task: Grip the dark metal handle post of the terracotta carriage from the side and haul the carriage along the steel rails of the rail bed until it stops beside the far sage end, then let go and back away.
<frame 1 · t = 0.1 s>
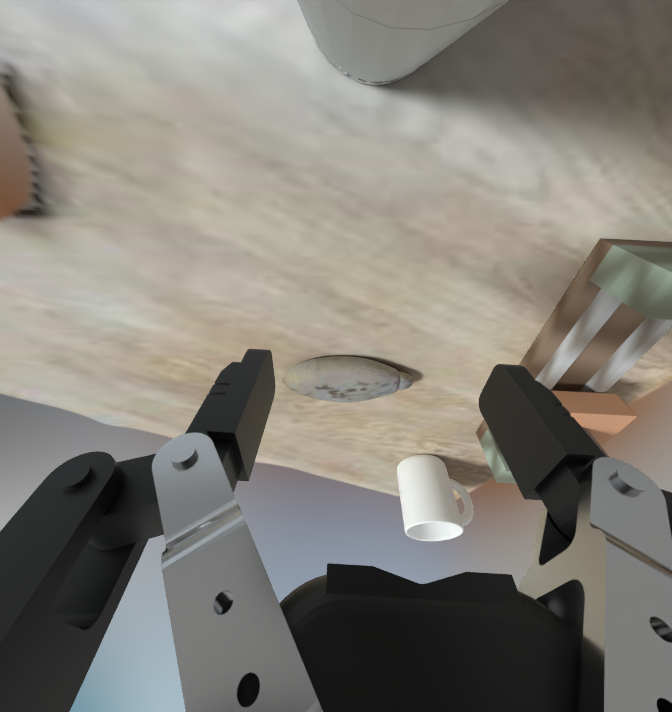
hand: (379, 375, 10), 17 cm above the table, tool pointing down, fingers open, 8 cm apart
decorative stone: (347, 369, 34), on the table
mug: (429, 465, 49), on the table
carriage: (594, 471, 28), point 10 cm above the table, slide at 0.0 cm
rail bed: (563, 365, 32), on the table
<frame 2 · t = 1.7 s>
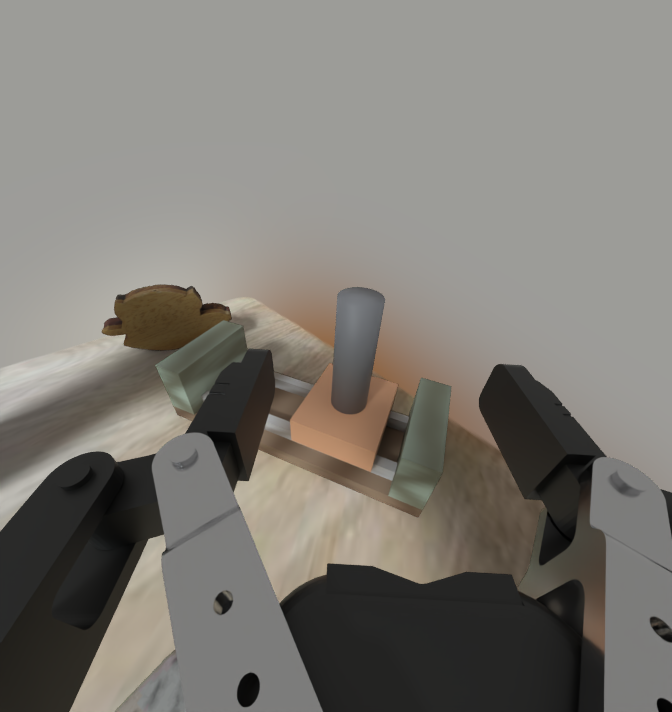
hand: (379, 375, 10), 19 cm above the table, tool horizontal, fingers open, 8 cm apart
carriage: (352, 369, 25), point 10 cm above the table, slide at 0.0 cm
wooden carving: (180, 345, 43), on the table
rail bed: (304, 423, 32), on the table
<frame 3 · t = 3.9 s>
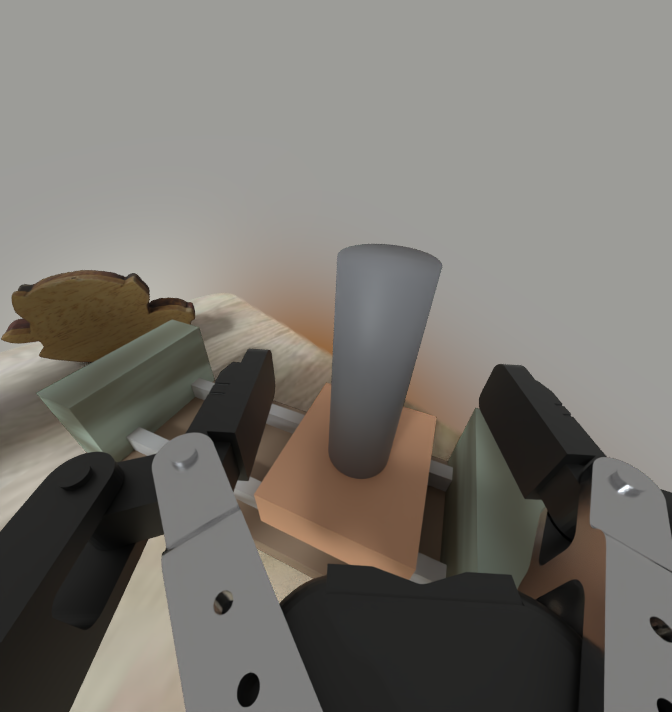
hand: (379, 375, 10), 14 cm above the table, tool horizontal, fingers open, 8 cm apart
carriage: (366, 402, 14), point 10 cm above the table, slide at 0.0 cm
wooden carving: (127, 355, 32), on the table
rail bed: (288, 475, 21), on the table
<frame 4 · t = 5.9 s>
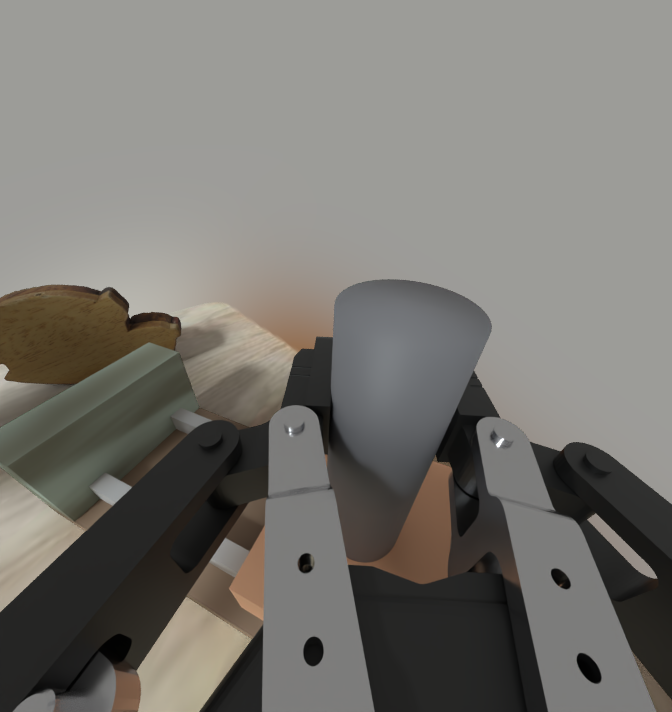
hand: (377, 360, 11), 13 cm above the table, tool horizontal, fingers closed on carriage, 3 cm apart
carriage: (372, 472, 11), point 10 cm above the table, slide at 0.0 cm, touching gripper
wooden carving: (107, 375, 29), on the table
rail bed: (279, 527, 18), on the table
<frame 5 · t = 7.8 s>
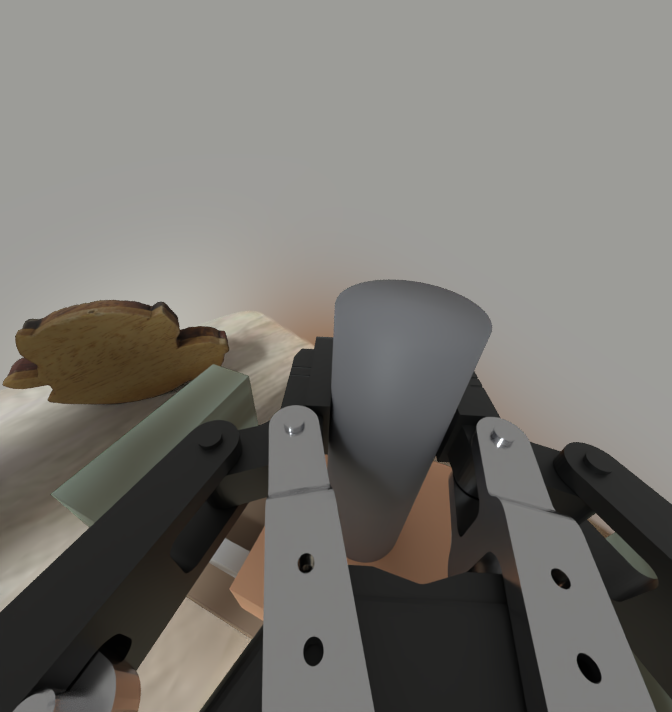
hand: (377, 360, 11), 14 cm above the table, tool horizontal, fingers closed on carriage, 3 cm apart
carriage: (372, 472, 11), point 10 cm above the table, slide at 6.2 cm, touching gripper
wooden carving: (149, 393, 27), on the table
rail bed: (370, 572, 16), on the table
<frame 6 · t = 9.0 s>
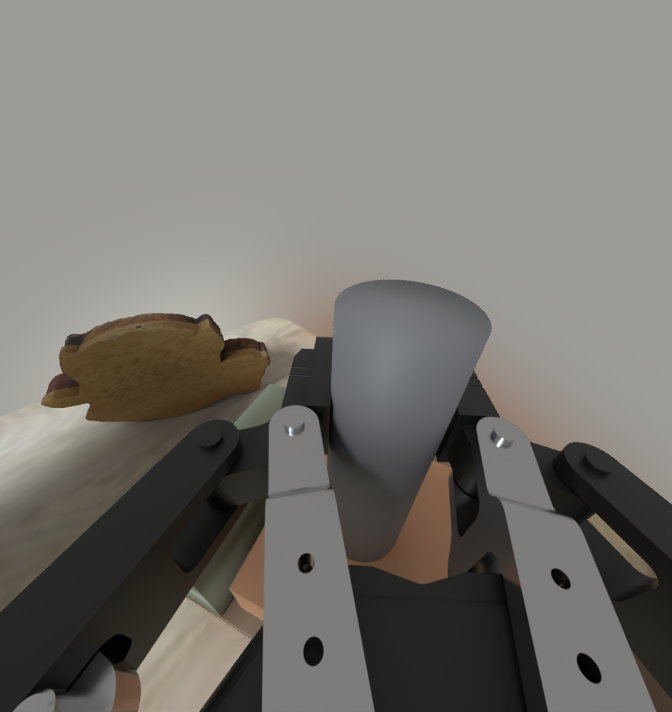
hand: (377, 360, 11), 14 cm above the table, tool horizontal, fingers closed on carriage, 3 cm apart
carriage: (372, 472, 11), point 10 cm above the table, slide at 10.9 cm, touching gripper
wooden carving: (186, 407, 26), on the table
rail bed: (451, 612, 15), on the table
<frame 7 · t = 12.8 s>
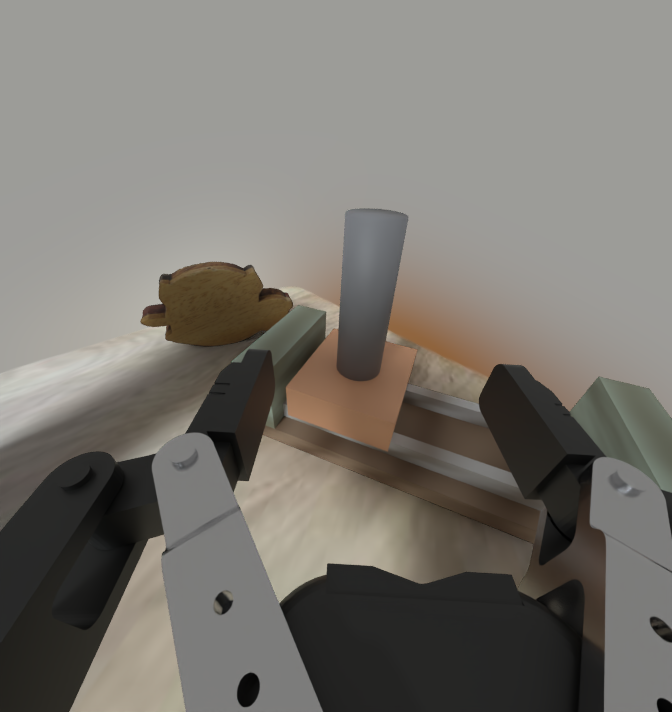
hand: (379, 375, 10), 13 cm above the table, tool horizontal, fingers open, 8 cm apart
carriage: (363, 323, 20), point 10 cm above the table, slide at 10.9 cm
wooden carving: (229, 340, 35), on the table
rail bed: (415, 439, 24), on the table
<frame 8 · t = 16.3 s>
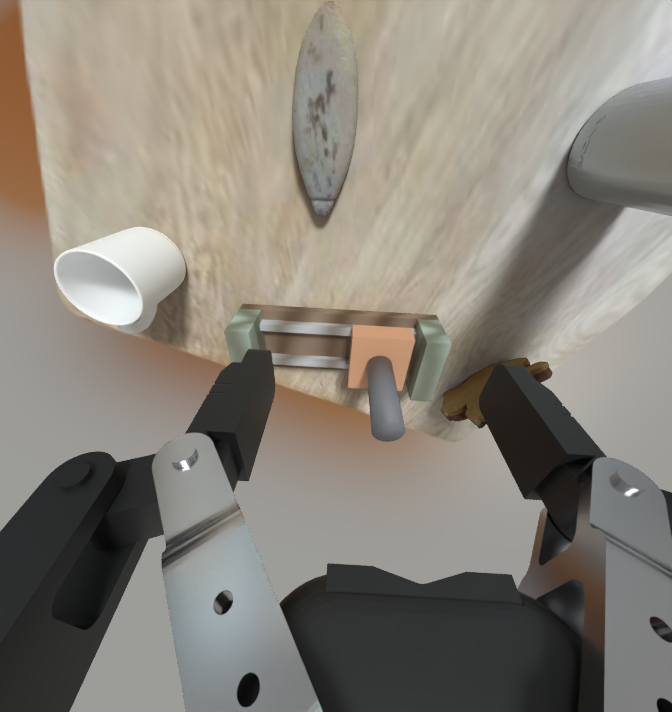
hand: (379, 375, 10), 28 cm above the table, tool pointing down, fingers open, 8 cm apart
decorative stone: (325, 128, 28), on the table
mug: (158, 271, 38), on the table
carriage: (381, 385, 35), point 10 cm above the table, slide at 10.9 cm
wooden carving: (481, 373, 46), on the table
rail bed: (337, 338, 43), on the table
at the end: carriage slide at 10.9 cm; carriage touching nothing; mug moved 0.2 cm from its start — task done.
